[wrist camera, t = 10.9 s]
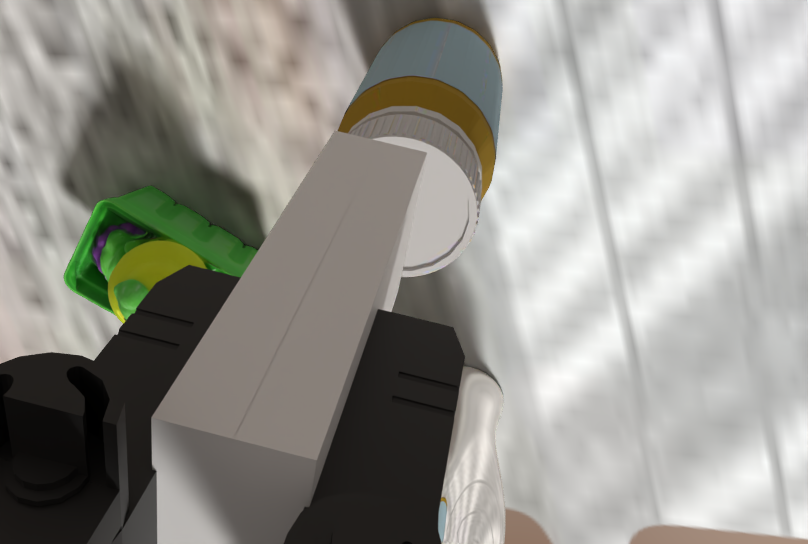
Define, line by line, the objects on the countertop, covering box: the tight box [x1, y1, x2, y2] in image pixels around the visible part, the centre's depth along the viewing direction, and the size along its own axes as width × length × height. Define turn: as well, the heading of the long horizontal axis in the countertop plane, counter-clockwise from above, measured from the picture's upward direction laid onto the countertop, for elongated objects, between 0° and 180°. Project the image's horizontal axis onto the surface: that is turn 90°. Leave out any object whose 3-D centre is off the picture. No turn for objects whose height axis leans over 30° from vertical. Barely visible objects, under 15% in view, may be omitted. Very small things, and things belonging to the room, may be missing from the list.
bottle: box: [338, 18, 502, 277], centre depth 36 cm, size 7×7×15 cm
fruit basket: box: [64, 186, 258, 324], centre depth 45 cm, size 11×9×11 cm
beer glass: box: [438, 366, 505, 544], centre depth 48 cm, size 7×7×15 cm
